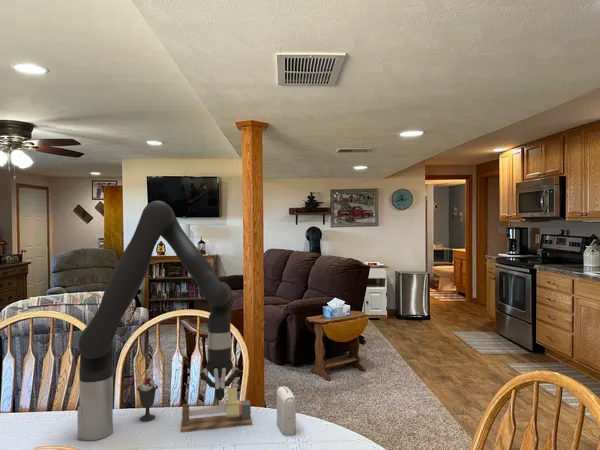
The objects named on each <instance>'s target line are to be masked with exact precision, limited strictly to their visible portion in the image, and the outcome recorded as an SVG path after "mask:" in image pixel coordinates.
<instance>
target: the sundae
mask: <svg viewBox="0 0 600 450" xmlns="http://www.w3.org/2000/svg"><path fill="white" fill-rule="evenodd" d="M148 376H149V374H146V376H145V379H144V380H143V382H142V384H141V385H139V386H138V387H137V388H136V391H138V395H139V401H140V405H141V406H142V408H144V409H145V414H144V415H143V416H141V417H139V421H140V422H151V421H153V420H155V419H156V416H155V415H154V414H151V412H150V409H151V407H152V406H153V405H154V404H155V397H156V392H157V391H156V390H157V389H159V386H158V385H157V384H156V383H155V380H154V379H152V378H151V377H148Z"/></svg>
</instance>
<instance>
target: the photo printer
mask: <svg viewBox="0 0 600 450" xmlns="http://www.w3.org/2000/svg"><path fill="white" fill-rule="evenodd" d="M296 403H297V402H296V398H295V395H294V393H293V392H292V391H291V389H290V388H289V387H287V386H284V385H283V386H279V387H278V388H277V390H276V423H277V425H278V428H279V429H280V431H281V433H282V434H283V435H285V436H293V435H295V434H296V423H297V421H296V418H297V417H296V414H297V412H296V411H297V409H296V408H297V406H296V405H297V404H296Z"/></svg>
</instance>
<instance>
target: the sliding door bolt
mask: <svg viewBox="0 0 600 450" xmlns="http://www.w3.org/2000/svg"><path fill="white" fill-rule="evenodd" d="M238 401H239V414H241V419H242V420H250V419H252V417H251V413H252V412H251V401H250V400H249V399H248V400H238ZM215 414H217V415H218V414H226V404H220V405H209V406H208V405H207V406H200V407H199V406H198V407H189V417H194V416H195V417H197V416H203V415H204V416H206V415H215Z"/></svg>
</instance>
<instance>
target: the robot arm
mask: <svg viewBox="0 0 600 450" xmlns="http://www.w3.org/2000/svg"><path fill="white" fill-rule="evenodd" d="M161 237H162V239H164V240H165V242H167V244H168V245H169V246H170V247H171V249H172V250H173V252H174V253H175V255H176V257H177V259H178V260H179V262H180V263H181V265H182V266H183V268H184V269H185V270H186V271H187V273H188V274H189V276H190V277H191V278H192V279H193V280H194V281H195V283H196V285H197V286H198V288H199V291H200V292H201V294H202V296H203V297H204V298H205V300H206V302H207V303H209V304H210V312H209V315H208V320H207V321H208V323H207V325H208V327H207V331H208V332H207V333H208V334H207V343H206V344H207V363H206V365H205V368H204V369H202V370H200V371H199V376H200V377H201V379H202V380H204V382H205V383H206V384H207V385H208V386H209V388H213V389H214V395H215V396H214V398H215V399H217V401H222V400H223V399H224V398H225V388H226V387H230V385H232V383H233V382H234V380H235V379H236V377H238V375H239V373H240V369H239V367H236V366H235V365H234V363H233V361H232V335H231V334H232V333H231V311H232V309H231V308H232V302H233V301H232V298H233V296H232V295H233V294H232V293H233V292H232V288H231V286H230V285H229V284H228V283H226V282H224V281H220V279H219V278H218V276H217V275H216V274H215V269H214V268H213V266H212V265H211V263H210V262H209V261H208V259H207V258H206V257H205V256H204V254H203V253H202V252H201V251H200V250H199V249H198V247H197V246H196V245H195V244H194V242H193V241H191V239H190V238H189V237H188V235H187V234H186V233H185V231H184V229H183V228H182V226H181V225H180V222H179V221H178V219H177V217H176V214H175V212H174V210H173V208H172V207H171V206H170V205H169V204H168V203H166V202H165V201H162V200H153V201H151V202H148V204H146V206H145V207H144V208H143V210H142V212H141V214H140V217H139V220H138V223H137V225H136V228H135V231H134V232H133V235H132V238H131V239H130V242H129V243H128V245H127V246H126V248H125V250H124V251H123V253H122V255H121V257H120V258H119V260H118V262H117V264H116V266H115V268H114V269H113V271H112V273H111V275H110V278H109V280H108V282H107V284H106V287H105V289H104V292H103V295H102V298H101V301H100V303H99V307H98V308H97V310H96V312H95V314H94V316H93V318H92V319H91V321H90V322H89V324H88V325H87V326H86V327H84V328H83V330H82V331H81V332H80V333H81V334H80V336H79V338H78V343H77V345H78V346H77V347H78V350H79V369H78V370H79V371H78V373H79V374H78V378H79V379H78V380H79V387H78V388H79V405H78V406H77V408H76V409H77V440H79V441H80V440H82V441H97V440H102V439H104V438H106V437H108V436H110V435H111V434H113V432H114V422H113V421H114V412H113V411H114V409H113V408H114V407H113V405H114V403H113V402H114V401H113V399H114V398H113V397H114V396H113V395H114V394H113V392H114V390H113V389H114V388H113V383H114V382H113V381H114V380H113V367H114V366H113V365H114V363H113V361H114V359H113V357H114V356H113V354H114V353H113V348H114V347H113V346H114V345H113V344H114V343H113V341H114V338H115V335H116V333H117V330H118V328H119V325H120V322H121V321H122V318H123V317H124V315H125V313H126V311H127V310H128V308H129V307H130V306H131V304H132V301H133V300H134V299H135V298H136V296H137V294H138V292H139V290H140V288H141V286H142V284H143V282H144V280H145V278H146V275H147V273H148V271H149V267H150V263H151V261H152V260H151V259H152V256H153V252H154V249H155V246H156V244H157V242H158V241H159V240H160V238H161ZM230 372H231V374H230ZM208 374H210V375H211V377H213V378H214V381H213V380H212V379H211V378H210V377H209V375H208ZM228 375H229V376H228ZM227 376H228V377H227ZM226 377H227V379H226ZM219 378H220V379H219ZM219 381H220V382H219Z"/></svg>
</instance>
